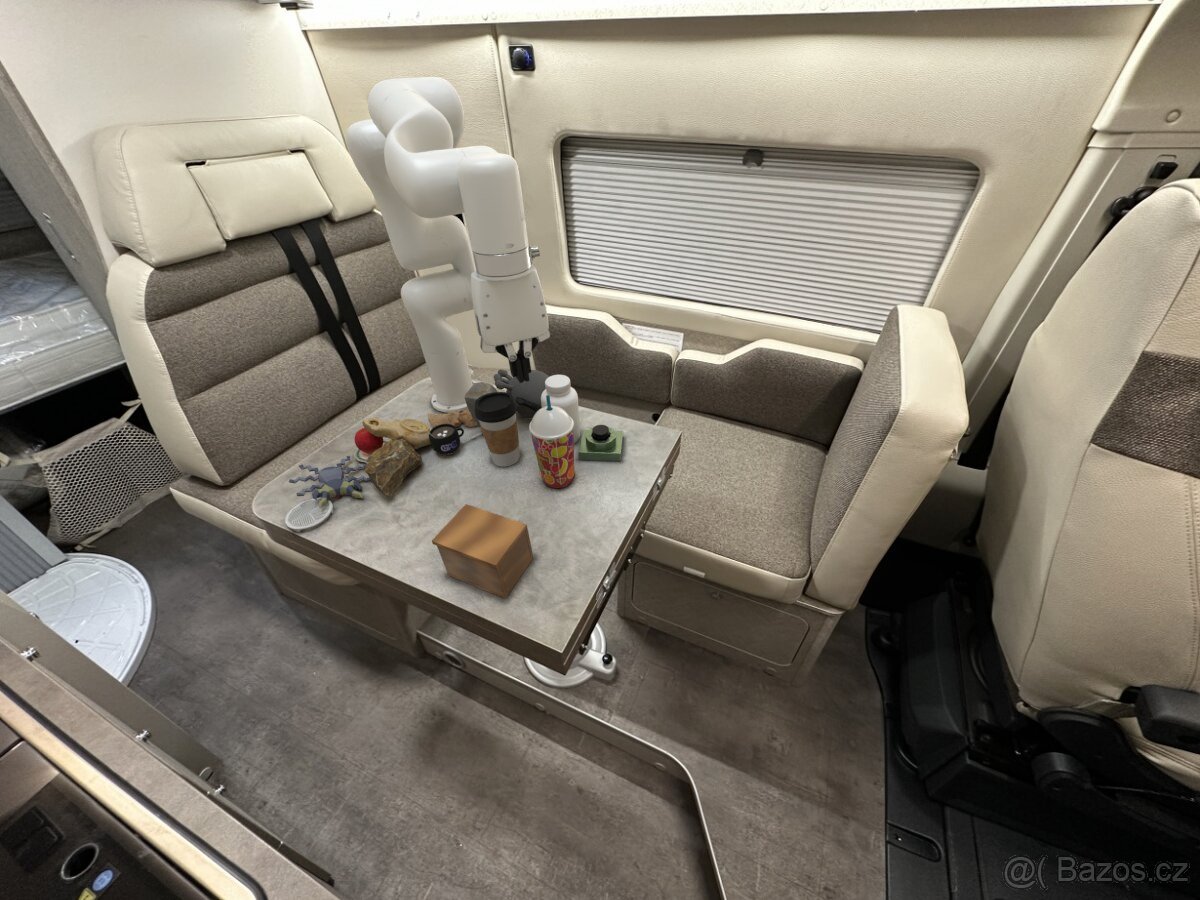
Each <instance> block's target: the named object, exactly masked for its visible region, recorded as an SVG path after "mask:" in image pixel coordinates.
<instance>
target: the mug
mask: <svg viewBox="0 0 1200 900" xmlns="http://www.w3.org/2000/svg"><path fill="white" fill-rule="evenodd" d="M426 431H427V430H426ZM459 431H461V433H459ZM427 432H428V431H427ZM428 433H429V441H430V444H429V445H430V446H431V448H432V449H433V451H434V452H435V453H436V454H438V455H441V456H449V455H453V454H454V453H456V452H457V451H458V450H459V448H460V446H461V444H462V445H463V444H464V443H467V442H468V441H470V440H472V439H475V438H477V437H478V436H480V435H483V433H482V431H481V432H479V433H477V434H475V435H473V436H470V437H469V438H467V439H465V440H462V441H461V438H462V437H463V436H464V434H465V430H464V428H462V427H458V428H457V426H453V425H451V424H441V425H438V426H436V427H434V428H432V427H431V431H430V432H428Z"/></svg>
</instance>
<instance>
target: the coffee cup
mask: <svg viewBox="0 0 1200 900" xmlns="http://www.w3.org/2000/svg"><path fill="white" fill-rule="evenodd" d="M474 411H475V416H476V418H477V419H478V420H479V425H480V426H479V425H478V426H479V427H480V430H481V432H482V436H483V439H484V441H485V443H486V446H487V448H488V451H489V454H490V457H491V460H492V462H493V464H494V465H496V466H498V467H504V468H505V467H510V466H513V465H515V464H516V463H518V462H519V460H520V457H521V451H520V441H519V440H520V439H519V438H520V437H519V426H518V415H517V414H516V413H517V405H516V403H515V401H514V398H513V395H512V394H510V393H507V392H506V391H497V392H493V393H488V394H485V395H483V396H481V397H479V398H478V399H477V400H476V401H475V410H474Z"/></svg>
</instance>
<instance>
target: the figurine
mask: <svg viewBox="0 0 1200 900" xmlns="http://www.w3.org/2000/svg"><path fill="white" fill-rule="evenodd" d="M427 419H428V420H427V421H428V422H429V425H430V428H431V429H432V428H434V427H436V426H438V425H441V424H451V425H453V426H455V427H459V426H460V425H461V424H463V425H464V426H465V427H467V428H475V427H478V426H479V425H478V424H477V423H476V422H475V420H474V419H473V417H472V415H471V413H470V412H469V410H468V409H464V410H463V411H461V412H457V411H456V410H454V411H452V412H451V413H436V414H435V413H428V414H427Z"/></svg>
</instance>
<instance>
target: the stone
mask: <svg viewBox="0 0 1200 900" xmlns="http://www.w3.org/2000/svg"><path fill="white" fill-rule="evenodd" d="M493 392H498V390H497V388H496V387H495V386H494V385H493V384H491V383H489V382H484V381H478V382H476V383H474V384H473V386H472V387H471V388H470V389H469V391H467V392H466V394H465V401H466V405H467V407H468V410H469V412H470V413H471V415H472V417H473V419H474V420H475V422H476V423H477V424H478V426H479V427H480V425H479V420H478V419H477V418H476V416H475V411H474V410H475V401H476V400H477V399H478V398H479V397H481V396H483V395H485V394H488V393H493Z"/></svg>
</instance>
